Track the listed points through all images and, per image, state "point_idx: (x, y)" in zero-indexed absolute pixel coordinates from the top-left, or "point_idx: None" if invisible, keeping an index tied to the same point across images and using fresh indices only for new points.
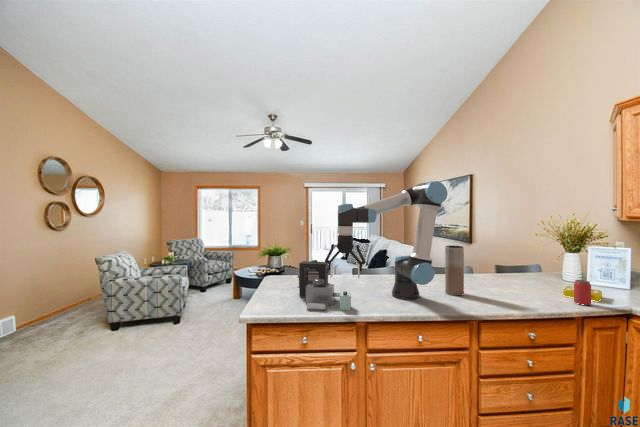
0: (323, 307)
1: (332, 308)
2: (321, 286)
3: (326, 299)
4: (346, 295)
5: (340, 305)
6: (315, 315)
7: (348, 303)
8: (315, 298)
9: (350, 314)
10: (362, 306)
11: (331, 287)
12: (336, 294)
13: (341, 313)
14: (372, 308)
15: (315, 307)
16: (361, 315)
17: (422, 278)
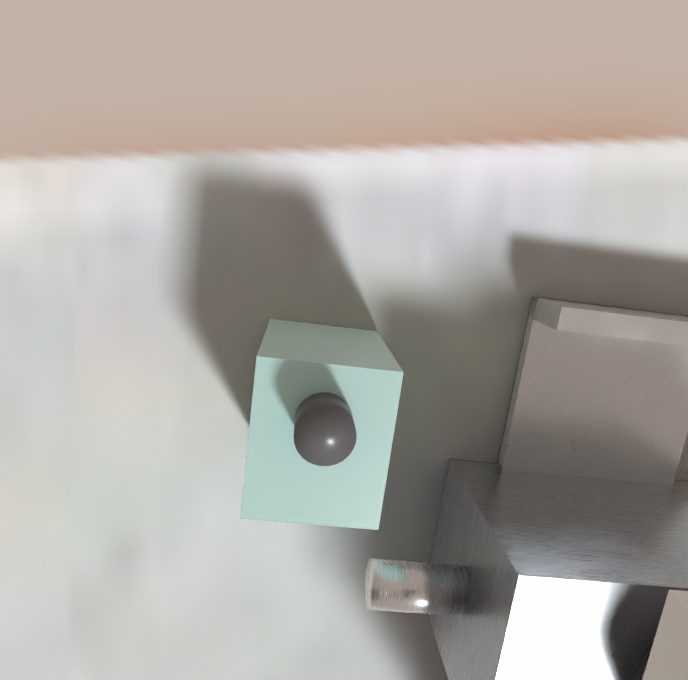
0: (561, 302)
1: (451, 371)
2: None
3: (531, 493)
4: (307, 390)
5: (376, 340)
6: (634, 149)
7: (283, 335)
8: (655, 507)
9: (269, 192)
10: (132, 451)
11: (528, 601)
12: (425, 574)
13: (364, 220)
14: (22, 395)
15: (643, 312)
16: (149, 164)
17: None
